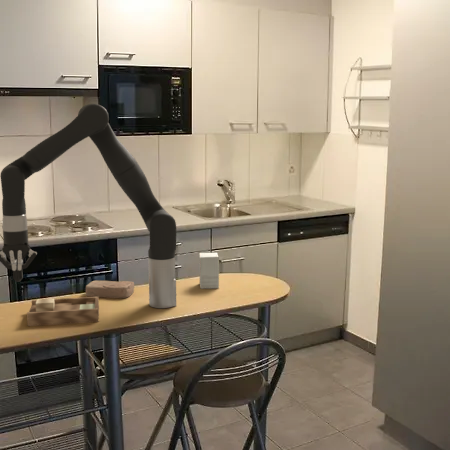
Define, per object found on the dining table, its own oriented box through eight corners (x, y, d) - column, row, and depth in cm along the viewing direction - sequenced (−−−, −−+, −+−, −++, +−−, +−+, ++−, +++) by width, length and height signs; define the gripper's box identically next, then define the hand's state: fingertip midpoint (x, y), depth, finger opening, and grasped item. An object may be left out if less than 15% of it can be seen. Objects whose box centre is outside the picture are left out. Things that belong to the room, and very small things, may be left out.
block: (54, 306, 204) (54, 298, 203) (53, 310, 199) (53, 302, 199) (37, 307, 203) (37, 299, 202) (36, 311, 198) (35, 303, 198)
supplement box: (217, 283, 243) (218, 252, 240) (218, 288, 235) (219, 256, 233) (199, 283, 242) (199, 252, 240) (199, 288, 235) (199, 256, 233)
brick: (84, 297, 225) (84, 284, 224) (93, 290, 233) (92, 278, 233) (127, 299, 223) (127, 287, 222) (135, 293, 231) (134, 281, 230)
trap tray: (98, 308, 212) (98, 296, 211) (98, 321, 198) (98, 309, 197) (32, 312, 208) (31, 300, 207) (27, 326, 194) (26, 313, 193)
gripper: (38, 225, 200) (40, 277, 203) (-5, 226, 197) (-2, 278, 200) (35, 230, 192) (38, 283, 195) (-9, 231, 190) (-6, 285, 193)
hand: (18, 281), depth 198 cm, fingers closed
